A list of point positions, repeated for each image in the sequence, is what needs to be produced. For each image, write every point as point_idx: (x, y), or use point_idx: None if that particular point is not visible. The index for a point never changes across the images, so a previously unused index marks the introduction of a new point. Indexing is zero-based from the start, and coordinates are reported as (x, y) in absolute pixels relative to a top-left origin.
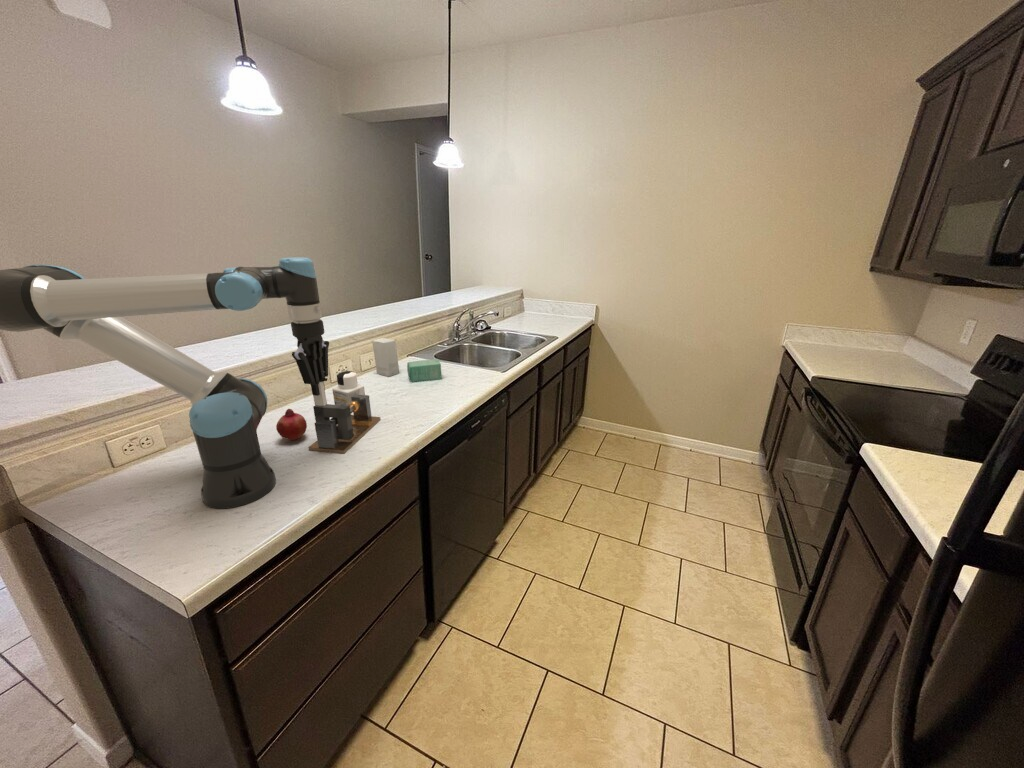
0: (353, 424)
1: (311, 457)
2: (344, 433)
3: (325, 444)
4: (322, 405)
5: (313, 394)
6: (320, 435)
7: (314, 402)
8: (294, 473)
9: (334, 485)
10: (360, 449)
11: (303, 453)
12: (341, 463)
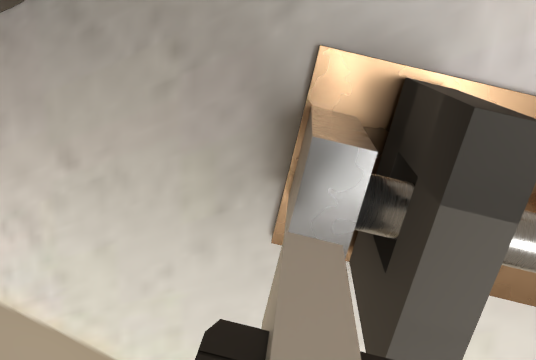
0: None
1: (242, 88)
2: (360, 256)
3: (300, 154)
4: (266, 309)
5: (207, 339)
6: (305, 145)
7: (285, 244)
8: (93, 63)
9: (20, 264)
10: None
11: (286, 27)
12: (184, 246)
